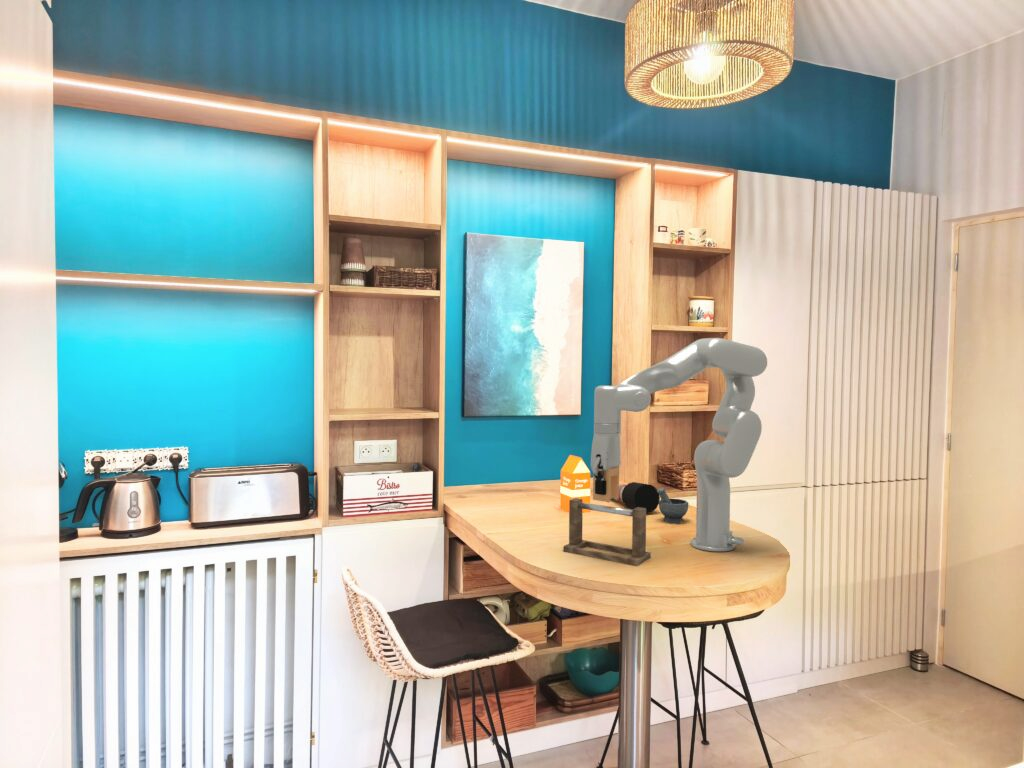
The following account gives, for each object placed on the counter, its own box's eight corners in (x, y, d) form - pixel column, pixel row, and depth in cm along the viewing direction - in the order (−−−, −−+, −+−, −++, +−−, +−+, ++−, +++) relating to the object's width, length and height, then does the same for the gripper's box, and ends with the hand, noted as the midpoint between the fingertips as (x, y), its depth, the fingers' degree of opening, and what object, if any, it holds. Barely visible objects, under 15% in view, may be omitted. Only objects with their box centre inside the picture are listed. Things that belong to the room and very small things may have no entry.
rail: (642, 517, 181) (642, 510, 181) (639, 518, 179) (640, 511, 179) (575, 506, 193) (575, 500, 193) (572, 507, 191) (572, 501, 191)
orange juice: (571, 513, 235) (572, 458, 234) (560, 508, 243) (560, 455, 242) (590, 511, 238) (591, 457, 237) (578, 506, 246) (578, 453, 245)
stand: (650, 557, 184) (651, 506, 183) (637, 566, 176) (637, 512, 176) (578, 544, 197) (579, 496, 196) (563, 551, 189) (563, 501, 189)
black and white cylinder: (612, 506, 266) (622, 483, 268) (653, 517, 234) (663, 491, 235) (591, 496, 264) (601, 473, 266) (629, 505, 231) (640, 479, 233)
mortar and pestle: (677, 517, 231) (678, 483, 230) (693, 523, 222) (693, 488, 221) (649, 519, 227) (650, 485, 227) (664, 526, 218) (665, 490, 218)
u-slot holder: (618, 498, 187) (619, 467, 187) (608, 502, 182) (609, 470, 182) (603, 496, 190) (603, 465, 189) (592, 499, 185) (593, 468, 184)
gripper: (609, 425, 194) (608, 486, 195) (580, 430, 180) (579, 495, 181) (632, 427, 190) (631, 489, 191) (605, 432, 176) (604, 499, 177)
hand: (606, 491), depth 186 cm, fingers closed on u-slot holder, 6 cm apart
